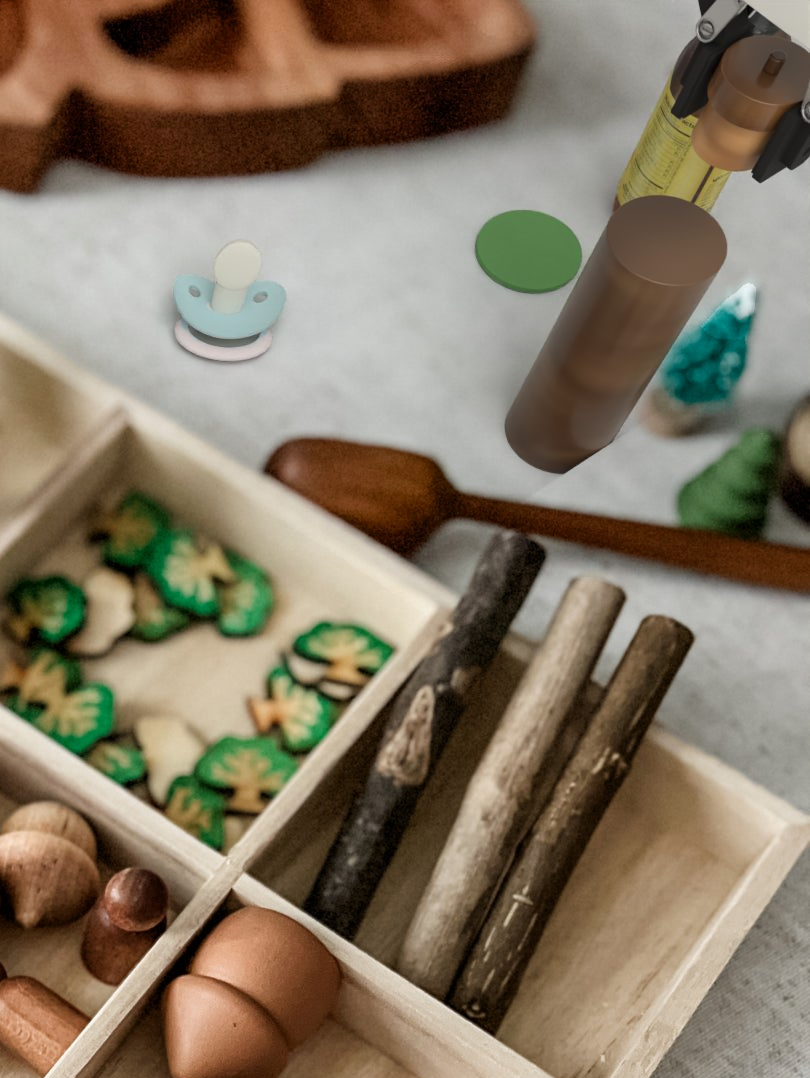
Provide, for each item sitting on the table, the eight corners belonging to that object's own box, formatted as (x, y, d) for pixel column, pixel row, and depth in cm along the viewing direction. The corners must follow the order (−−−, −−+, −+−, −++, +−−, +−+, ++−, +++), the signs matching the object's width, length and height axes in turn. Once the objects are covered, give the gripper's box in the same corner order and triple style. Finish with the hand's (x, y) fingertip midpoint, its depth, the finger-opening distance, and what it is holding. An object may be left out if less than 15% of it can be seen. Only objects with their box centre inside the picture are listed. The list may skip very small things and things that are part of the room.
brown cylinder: (630, 441, 108) (753, 249, 93) (555, 491, 107) (668, 303, 92) (557, 375, 110) (666, 176, 95) (483, 423, 109) (581, 229, 94)
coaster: (602, 262, 114) (604, 257, 113) (526, 309, 112) (528, 305, 112) (528, 198, 116) (530, 194, 116) (453, 244, 114) (455, 239, 114)
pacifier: (275, 372, 111) (279, 299, 113) (298, 303, 105) (302, 228, 107) (163, 361, 111) (169, 289, 113) (180, 292, 105) (186, 217, 107)
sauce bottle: (686, 180, 116) (842, -97, 98) (709, 249, 114) (873, -21, 96) (592, 185, 116) (730, -91, 98) (613, 255, 114) (759, -15, 96)
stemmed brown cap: (797, 150, 87) (851, 62, 82) (732, 192, 86) (782, 105, 81) (728, 96, 89) (776, 6, 84) (662, 136, 88) (708, 48, 83)
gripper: (1167, -159, 68) (912, 203, 85) (844, -365, 74) (664, 13, 91) (1042, -82, 67) (808, 271, 84) (722, -299, 72) (563, 73, 89)
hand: (735, 133), depth 87 cm, fingers closed on stemmed brown cap, 4 cm apart
